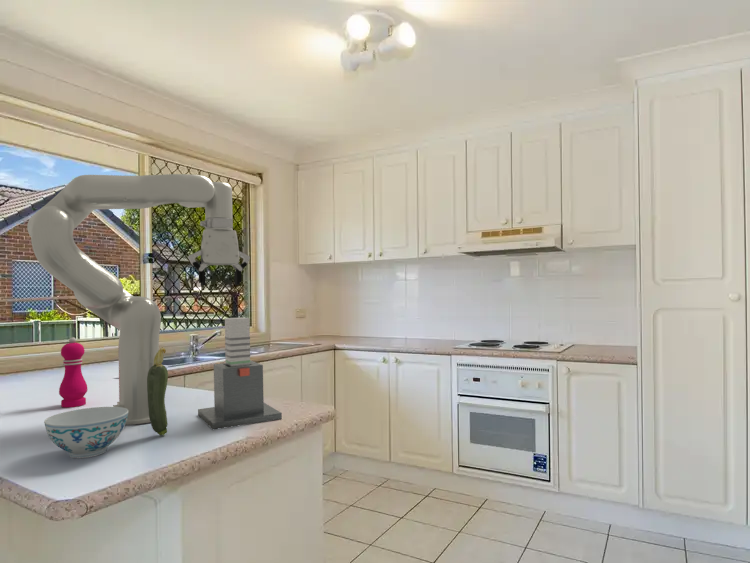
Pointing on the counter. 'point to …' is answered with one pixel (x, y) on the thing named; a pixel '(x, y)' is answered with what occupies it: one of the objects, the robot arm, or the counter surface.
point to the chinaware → (86, 429)
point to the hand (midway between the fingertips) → (220, 285)
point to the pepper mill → (73, 376)
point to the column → (237, 342)
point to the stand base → (238, 397)
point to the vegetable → (157, 393)
